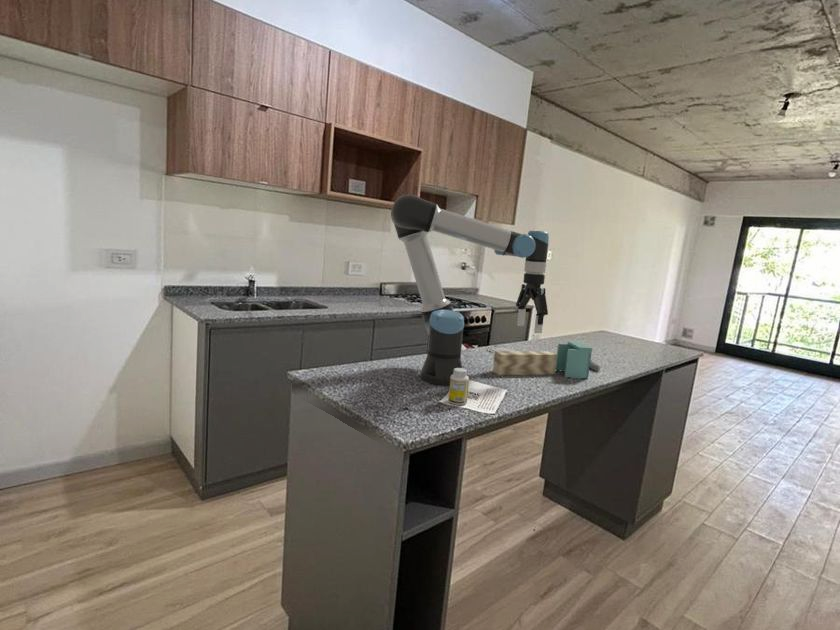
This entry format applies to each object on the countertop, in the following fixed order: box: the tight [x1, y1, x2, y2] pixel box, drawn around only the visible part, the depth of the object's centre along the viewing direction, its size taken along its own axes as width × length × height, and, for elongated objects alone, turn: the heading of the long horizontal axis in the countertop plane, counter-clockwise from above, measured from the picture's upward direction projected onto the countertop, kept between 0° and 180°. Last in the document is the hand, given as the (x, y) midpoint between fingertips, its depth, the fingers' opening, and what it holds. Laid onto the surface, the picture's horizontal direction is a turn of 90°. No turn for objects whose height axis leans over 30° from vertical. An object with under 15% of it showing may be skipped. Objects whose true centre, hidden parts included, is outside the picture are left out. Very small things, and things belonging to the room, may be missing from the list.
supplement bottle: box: [448, 368, 470, 406], centre depth 135 cm, size 6×6×10 cm
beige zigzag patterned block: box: [492, 350, 557, 376], centre depth 173 cm, size 24×5×8 cm, turn 106°
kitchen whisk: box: [566, 342, 601, 373], centre depth 198 cm, size 6×34×6 cm, turn 4°
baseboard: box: [485, 345, 514, 354], centre depth 195 cm, size 31×3×12 cm
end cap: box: [555, 341, 593, 379], centre depth 175 cm, size 9×10×12 cm
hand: (528, 329), depth 171 cm, fingers open, 13 cm apart
